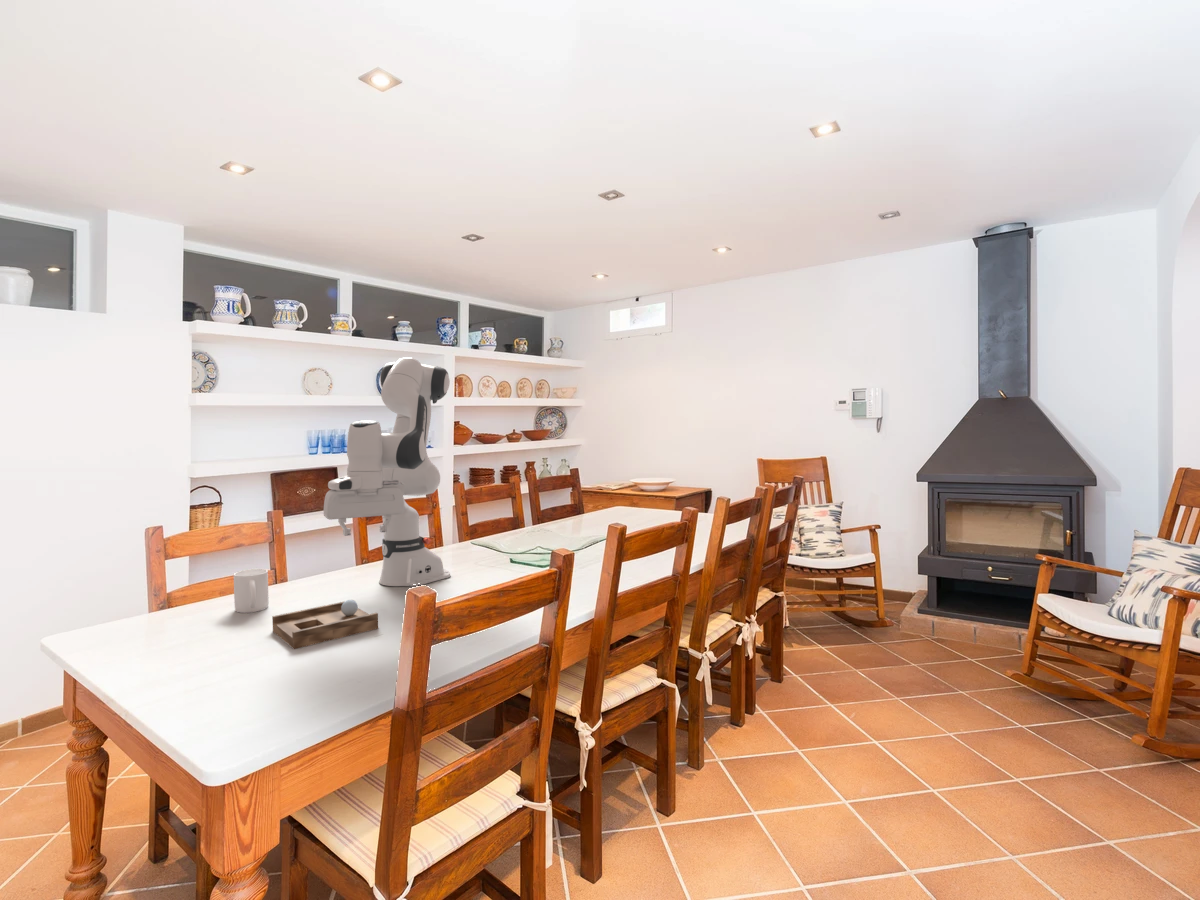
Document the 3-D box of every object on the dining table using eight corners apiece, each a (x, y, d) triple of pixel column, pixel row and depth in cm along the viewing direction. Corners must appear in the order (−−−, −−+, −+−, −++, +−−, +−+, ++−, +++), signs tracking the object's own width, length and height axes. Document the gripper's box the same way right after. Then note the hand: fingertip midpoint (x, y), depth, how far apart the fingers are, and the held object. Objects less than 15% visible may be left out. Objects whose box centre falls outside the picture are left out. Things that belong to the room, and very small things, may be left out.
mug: (270, 614, 168) (269, 576, 167) (235, 619, 163) (234, 580, 163) (267, 602, 178) (266, 567, 177) (234, 607, 173) (233, 571, 173)
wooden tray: (352, 613, 168) (352, 599, 168) (378, 628, 156) (378, 613, 156) (272, 631, 154) (272, 616, 154) (294, 649, 142) (293, 632, 142)
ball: (354, 611, 162) (353, 596, 162) (360, 615, 159) (360, 600, 159) (338, 615, 159) (338, 599, 159) (344, 618, 156) (344, 603, 156)
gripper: (399, 479, 172) (399, 528, 173) (321, 482, 160) (321, 535, 160) (408, 480, 167) (408, 531, 168) (328, 484, 155) (328, 539, 155)
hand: (365, 533), depth 164 cm, fingers open, 8 cm apart
